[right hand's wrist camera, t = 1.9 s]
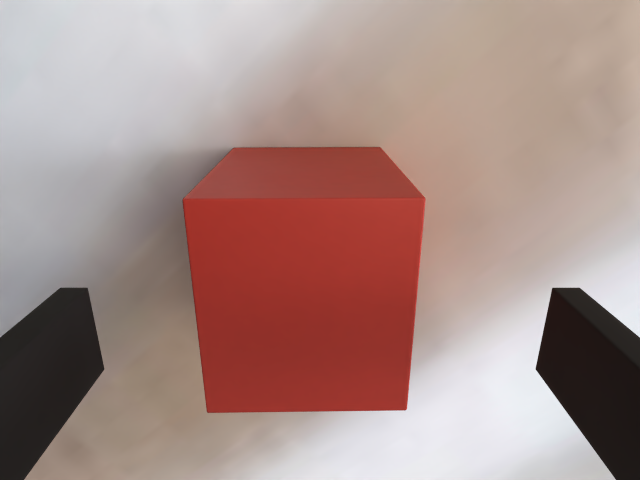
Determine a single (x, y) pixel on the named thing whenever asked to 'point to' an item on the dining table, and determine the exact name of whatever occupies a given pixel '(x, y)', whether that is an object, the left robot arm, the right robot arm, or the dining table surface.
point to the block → (305, 279)
